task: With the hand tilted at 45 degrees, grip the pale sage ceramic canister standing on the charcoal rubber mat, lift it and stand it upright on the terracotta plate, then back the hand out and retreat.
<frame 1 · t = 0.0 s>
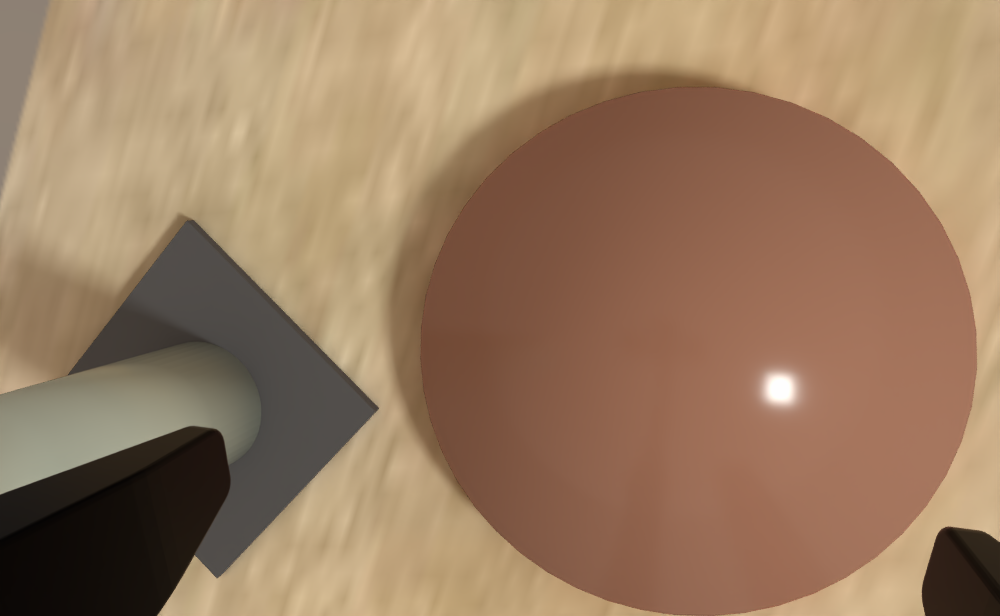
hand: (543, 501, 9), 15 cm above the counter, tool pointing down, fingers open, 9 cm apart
terracotta plate: (675, 356, 24), on the counter
rubber mat: (208, 402, 28), on the counter
sage canister: (202, 405, 27), resting on rubber mat
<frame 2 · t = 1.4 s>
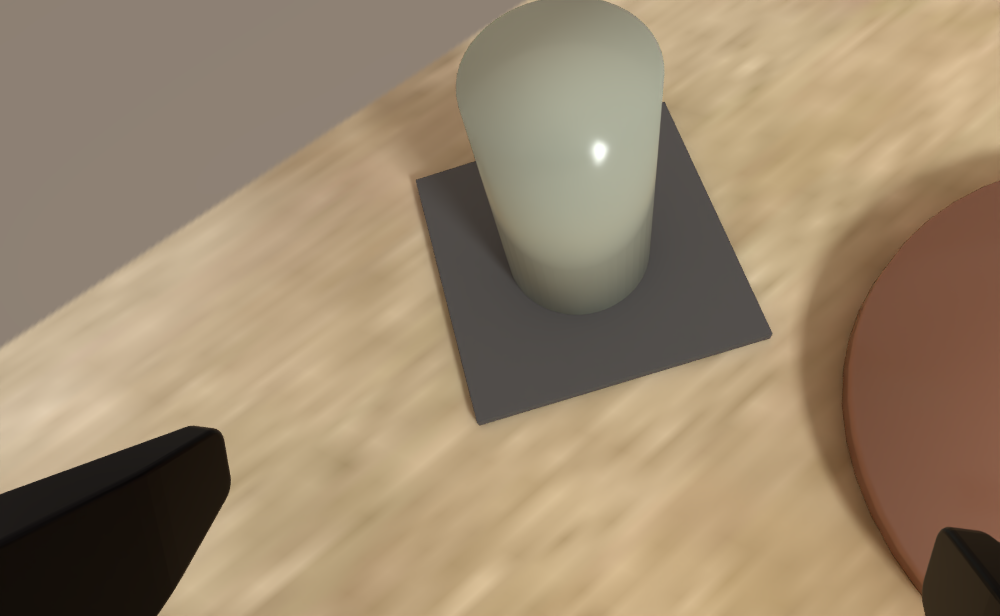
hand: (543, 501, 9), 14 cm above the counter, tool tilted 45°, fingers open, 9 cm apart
rubber mat: (578, 255, 26), on the counter
sage canister: (577, 249, 25), resting on rubber mat
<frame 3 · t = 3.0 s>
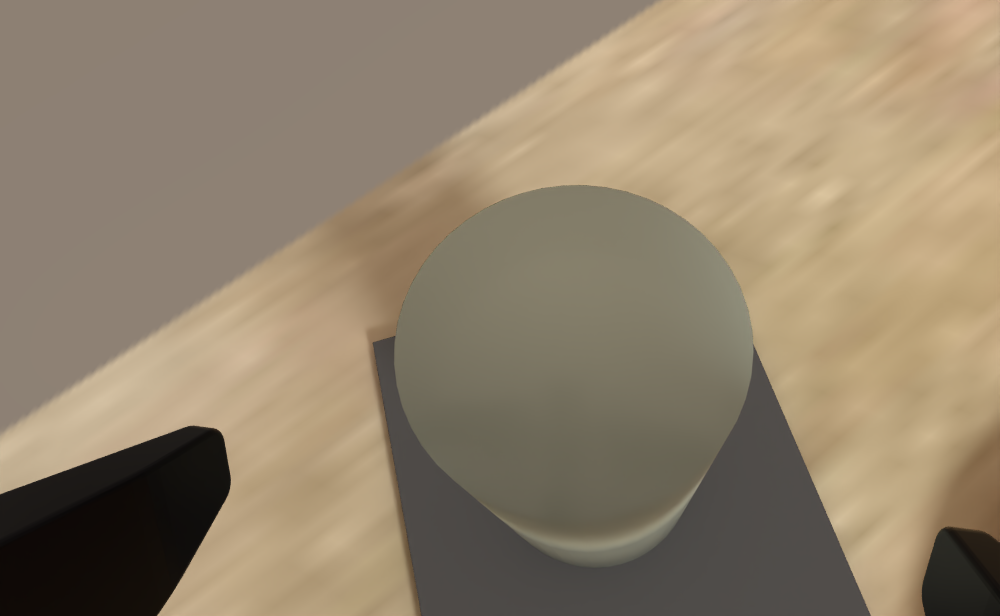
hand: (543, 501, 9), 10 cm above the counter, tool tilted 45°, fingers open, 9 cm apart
rubber mat: (591, 466, 18), on the counter
sage canister: (590, 463, 18), resting on rubber mat
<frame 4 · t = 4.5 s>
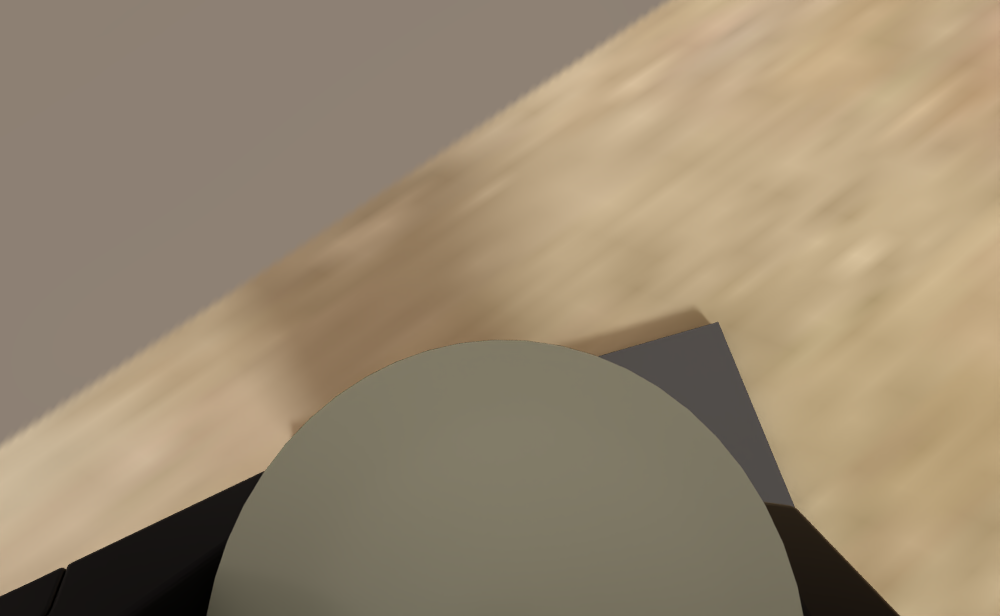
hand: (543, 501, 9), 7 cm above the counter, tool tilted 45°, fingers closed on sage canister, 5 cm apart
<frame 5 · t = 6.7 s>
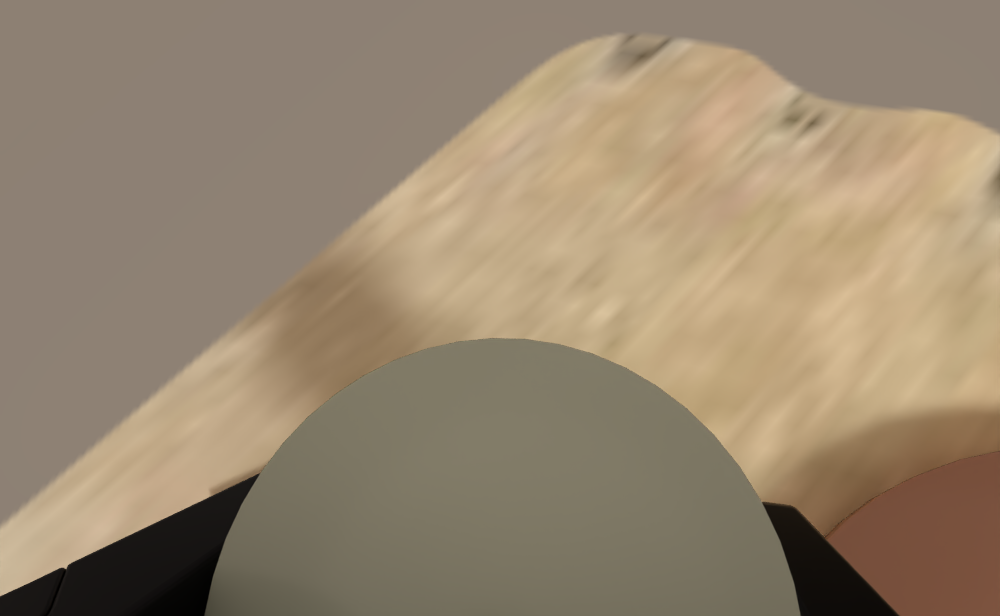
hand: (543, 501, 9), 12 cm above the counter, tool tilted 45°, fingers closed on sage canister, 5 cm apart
sage canister: (563, 615, 14), point 6 cm above the counter, touching gripper
when the fingers open (9 cm above the counter, at t = 9.2 s): sage canister drops 1 cm, resting on terracotta plate.
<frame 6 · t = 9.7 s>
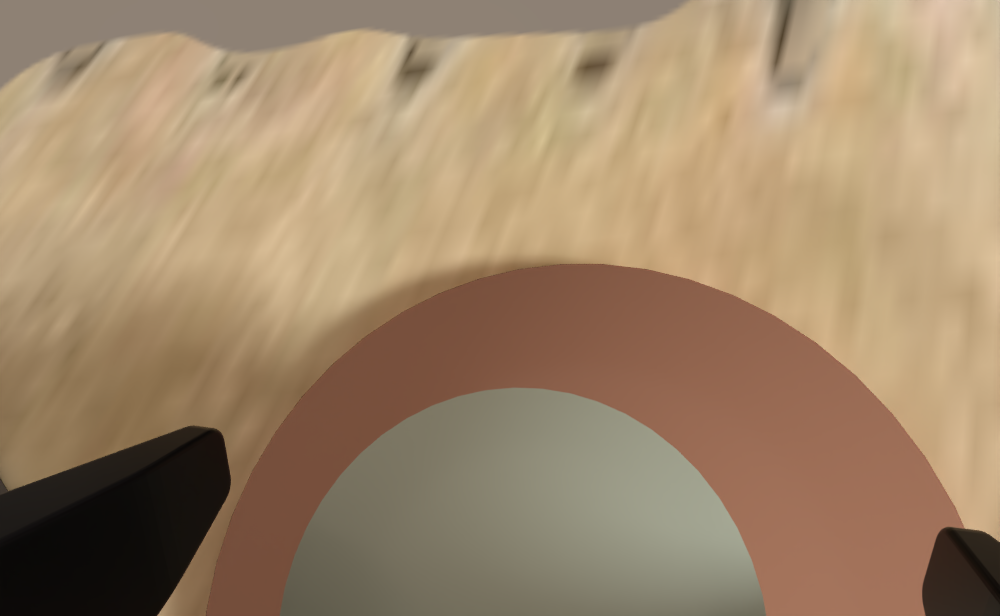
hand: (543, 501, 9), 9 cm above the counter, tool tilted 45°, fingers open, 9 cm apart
terracotta plate: (573, 615, 16), on the counter
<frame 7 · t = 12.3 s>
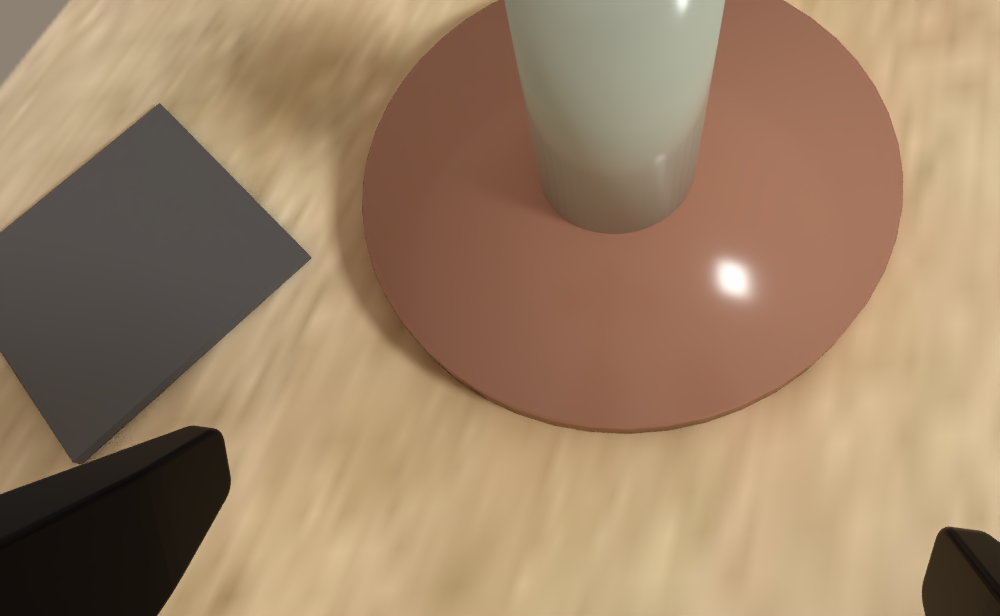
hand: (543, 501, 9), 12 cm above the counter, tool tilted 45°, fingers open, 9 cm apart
terracotta plate: (615, 184, 24), on the counter
rubber mat: (127, 268, 26), on the counter
sage canister: (615, 165, 23), point 1 cm above the counter, touching terracotta plate
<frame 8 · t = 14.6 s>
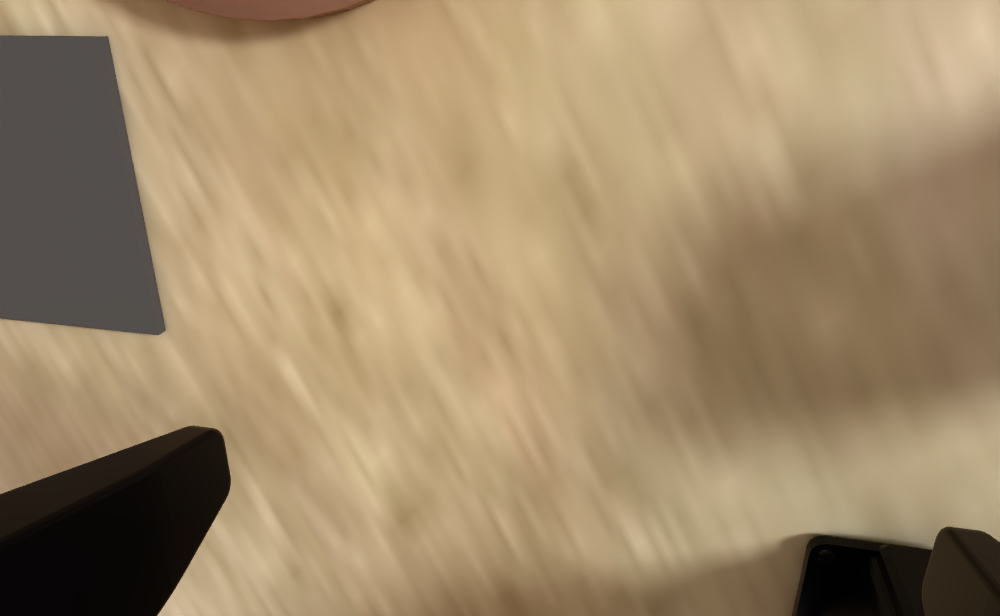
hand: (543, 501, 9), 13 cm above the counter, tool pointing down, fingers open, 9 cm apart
rubber mat: (14, 187, 25), on the counter
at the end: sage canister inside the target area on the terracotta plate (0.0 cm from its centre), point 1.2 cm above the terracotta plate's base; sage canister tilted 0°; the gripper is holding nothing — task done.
